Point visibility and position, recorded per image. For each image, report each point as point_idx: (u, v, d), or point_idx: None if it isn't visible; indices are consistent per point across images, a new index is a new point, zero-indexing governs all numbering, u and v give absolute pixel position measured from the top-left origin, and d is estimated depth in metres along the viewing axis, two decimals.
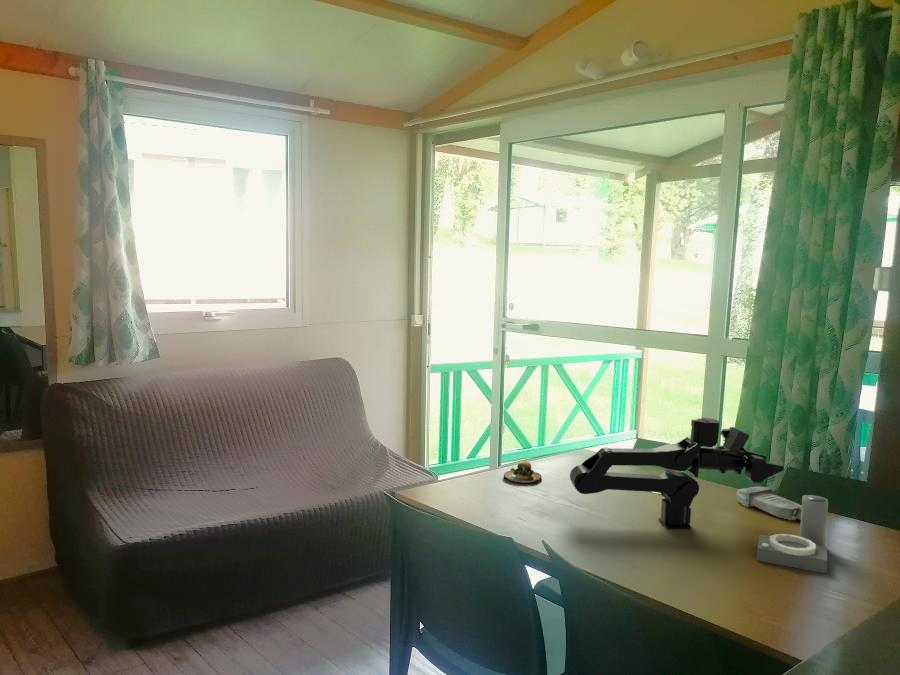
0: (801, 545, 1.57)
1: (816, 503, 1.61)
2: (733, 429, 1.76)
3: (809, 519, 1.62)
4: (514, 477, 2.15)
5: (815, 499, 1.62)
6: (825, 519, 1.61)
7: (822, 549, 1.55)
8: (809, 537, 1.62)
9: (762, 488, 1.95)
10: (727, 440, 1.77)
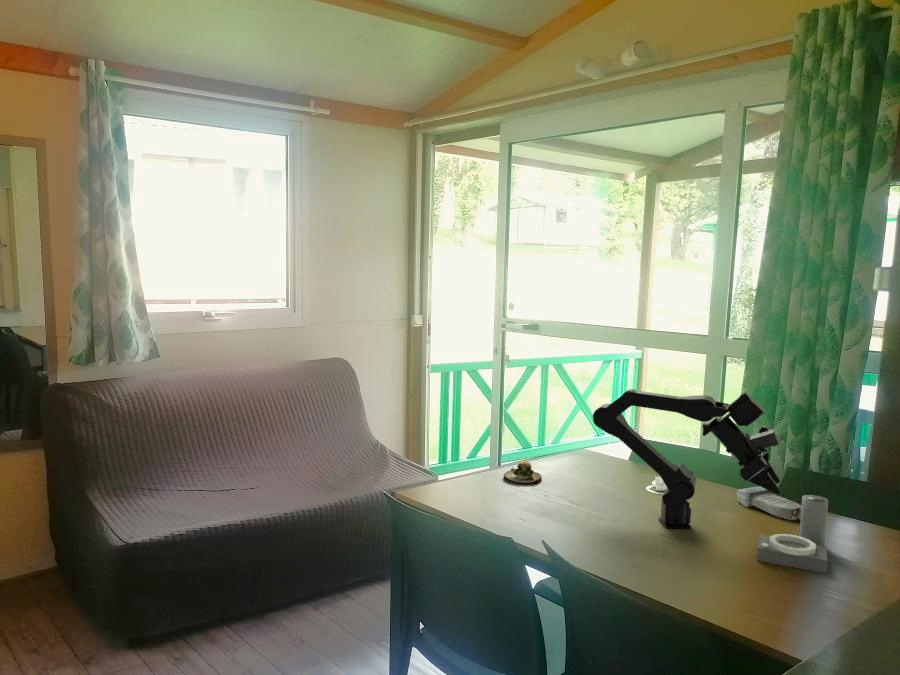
0: (801, 545, 1.57)
1: (816, 503, 1.61)
2: (771, 430, 1.67)
3: (809, 519, 1.62)
4: (514, 477, 2.15)
5: (815, 499, 1.62)
6: (825, 519, 1.61)
7: (822, 549, 1.55)
8: (809, 537, 1.62)
9: (762, 488, 1.95)
10: (758, 434, 1.68)
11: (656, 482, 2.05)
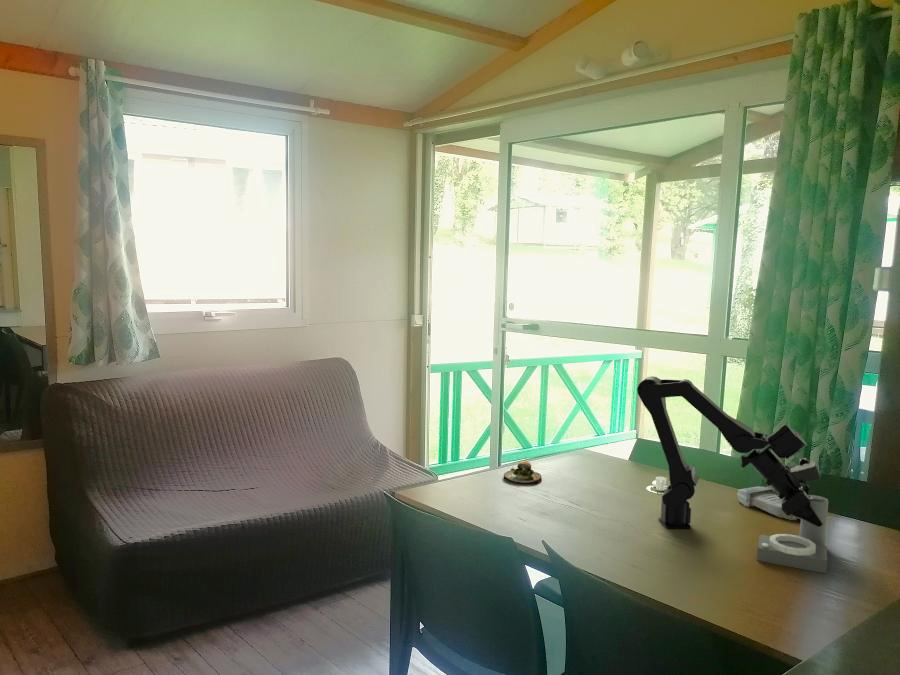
0: (801, 545, 1.57)
1: (816, 503, 1.60)
2: (812, 463, 1.63)
3: None
4: (514, 477, 2.15)
5: (815, 499, 1.62)
6: (825, 519, 1.61)
7: (822, 549, 1.55)
8: (809, 537, 1.62)
9: (763, 488, 1.95)
10: (798, 467, 1.65)
11: (656, 482, 2.05)
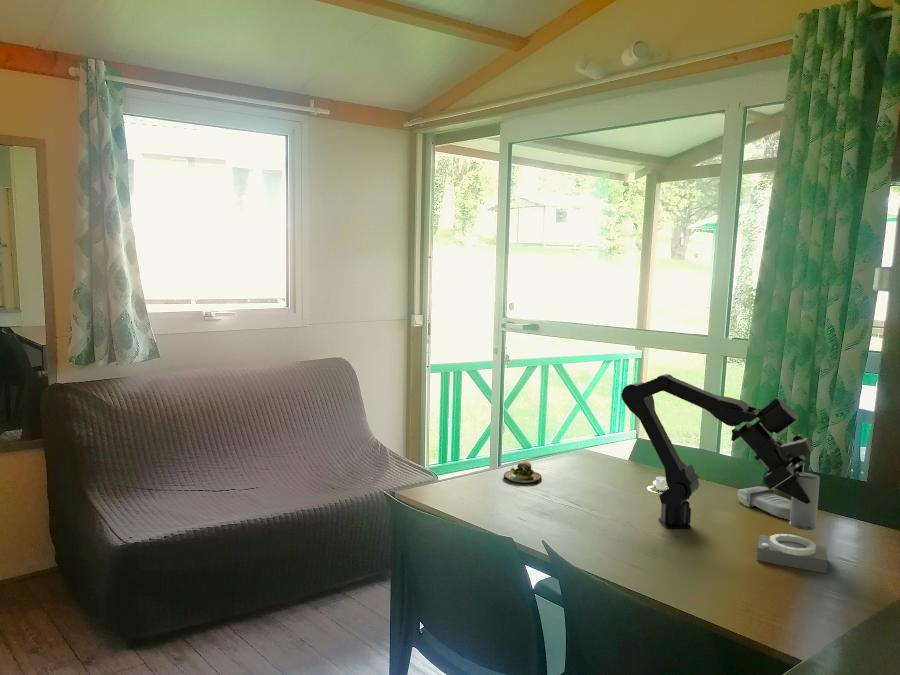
0: (801, 545, 1.57)
1: (804, 480, 1.56)
2: (804, 439, 1.59)
3: None
4: (514, 477, 2.14)
5: (805, 476, 1.57)
6: (815, 497, 1.56)
7: (822, 549, 1.55)
8: (797, 514, 1.58)
9: (763, 488, 1.95)
10: (790, 442, 1.61)
11: (657, 482, 2.05)
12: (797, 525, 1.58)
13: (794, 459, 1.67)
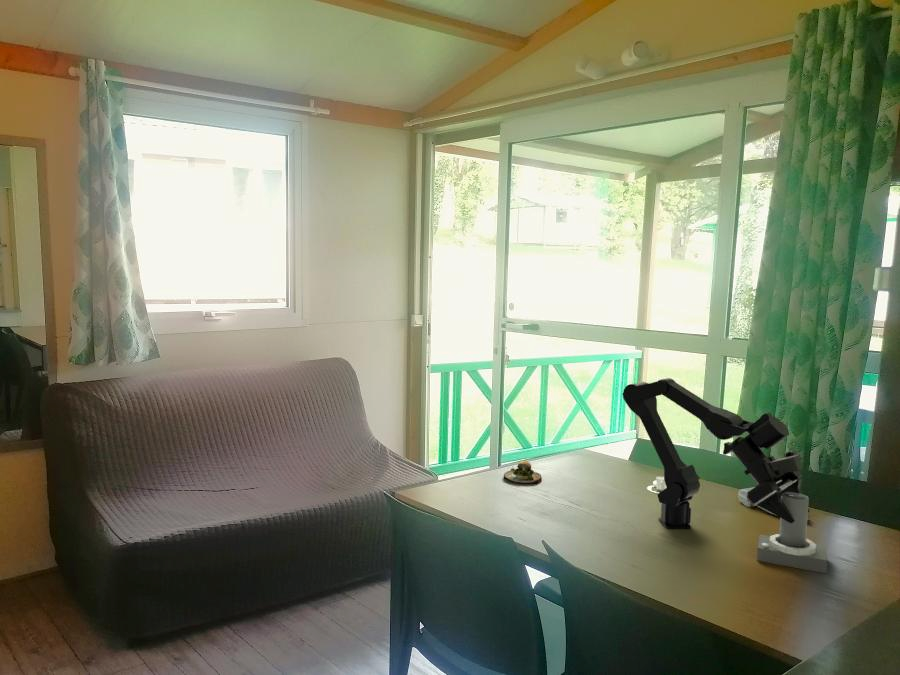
0: None
1: (791, 500, 1.53)
2: (794, 455, 1.56)
3: None
4: (514, 477, 2.14)
5: (793, 496, 1.55)
6: (802, 518, 1.53)
7: (822, 549, 1.55)
8: (784, 535, 1.55)
9: None
10: (781, 458, 1.58)
11: (657, 482, 2.05)
12: None
13: (791, 476, 1.64)
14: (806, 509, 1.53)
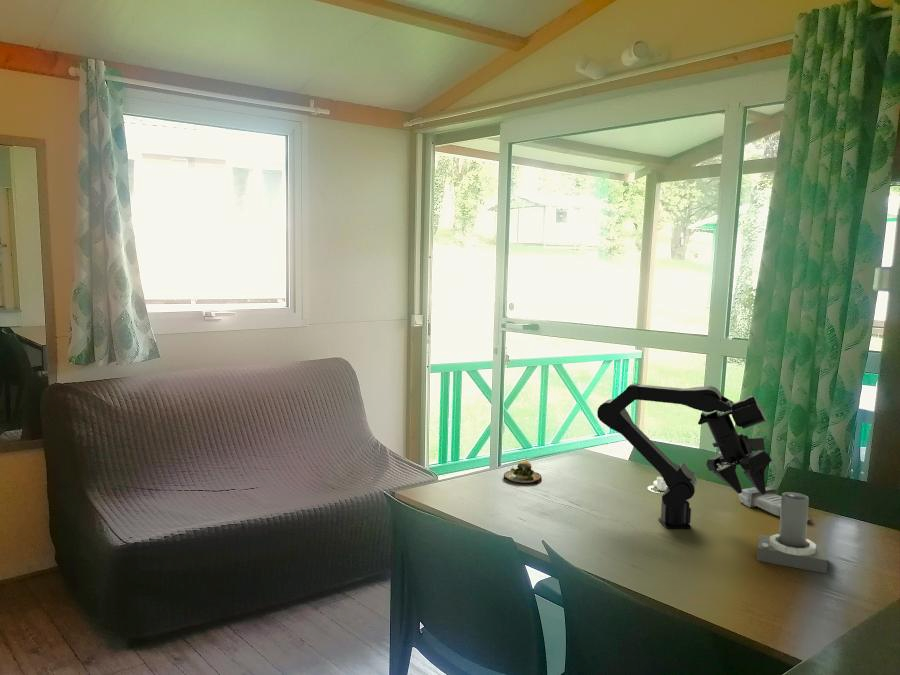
0: None
1: (791, 500, 1.53)
2: None
3: (785, 516, 1.55)
4: (514, 477, 2.14)
5: (793, 496, 1.55)
6: (802, 518, 1.53)
7: (822, 549, 1.55)
8: (784, 535, 1.55)
9: None
10: None
11: (657, 482, 2.05)
12: None
13: None
14: (806, 509, 1.53)
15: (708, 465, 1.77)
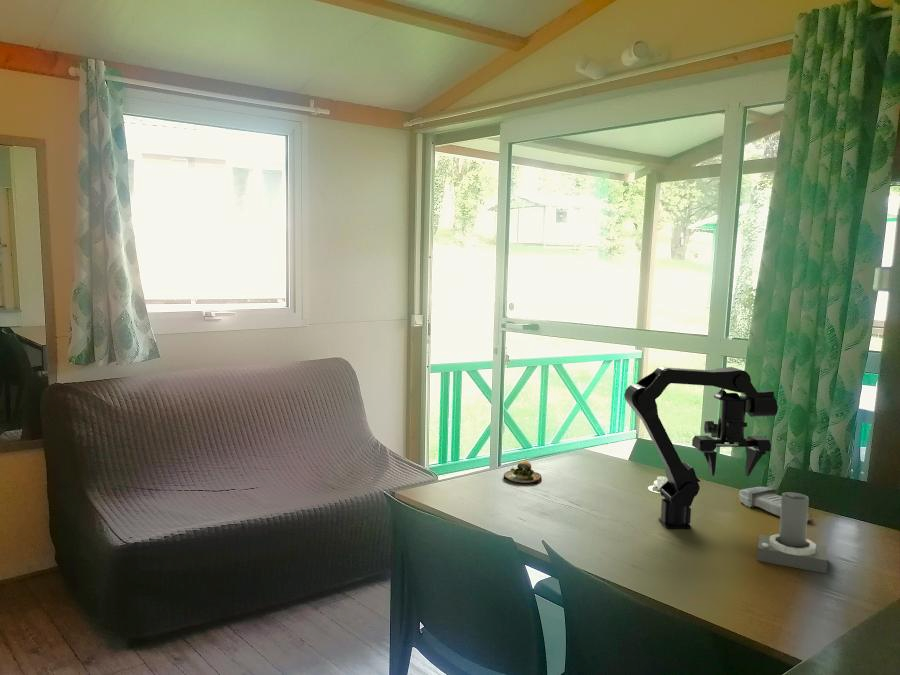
0: None
1: (791, 500, 1.53)
2: None
3: (785, 516, 1.55)
4: (514, 477, 2.14)
5: (793, 496, 1.55)
6: (802, 518, 1.53)
7: (822, 549, 1.55)
8: (784, 535, 1.55)
9: (764, 488, 1.95)
10: None
11: (658, 482, 2.05)
12: None
13: None
14: (806, 509, 1.53)
15: (706, 445, 1.73)
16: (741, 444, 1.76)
